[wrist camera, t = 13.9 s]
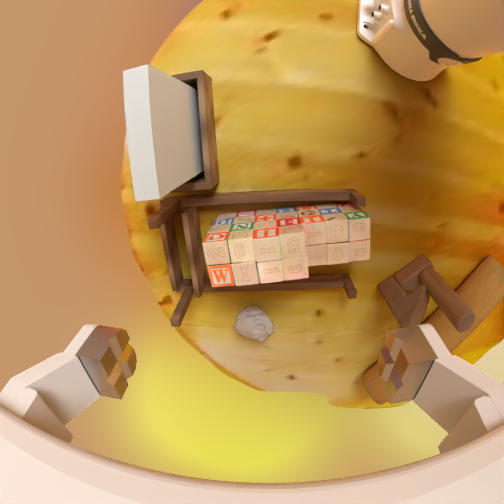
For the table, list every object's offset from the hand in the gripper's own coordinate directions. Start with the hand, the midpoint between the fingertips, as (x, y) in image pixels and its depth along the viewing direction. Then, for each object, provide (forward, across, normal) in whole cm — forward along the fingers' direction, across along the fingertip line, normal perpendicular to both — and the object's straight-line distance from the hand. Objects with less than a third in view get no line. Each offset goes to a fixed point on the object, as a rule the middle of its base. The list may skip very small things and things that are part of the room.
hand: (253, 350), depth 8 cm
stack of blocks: (+36, -3, +8) cm, 38 cm away
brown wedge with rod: (+36, -25, +18) cm, 48 cm away
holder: (+36, +10, -7) cm, 38 cm away
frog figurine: (+36, +3, +25) cm, 44 cm away
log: (+37, -36, +30) cm, 60 cm away
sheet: (+36, +10, -7) cm, 38 cm away
